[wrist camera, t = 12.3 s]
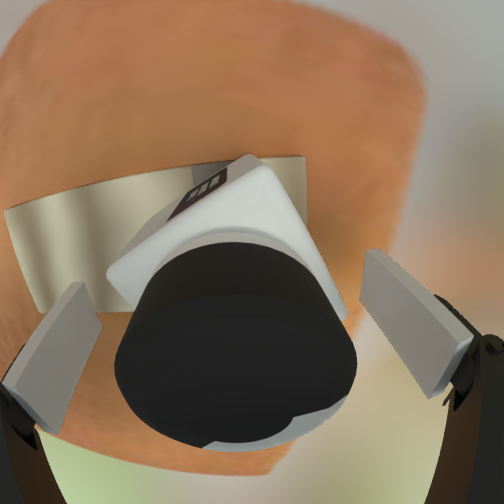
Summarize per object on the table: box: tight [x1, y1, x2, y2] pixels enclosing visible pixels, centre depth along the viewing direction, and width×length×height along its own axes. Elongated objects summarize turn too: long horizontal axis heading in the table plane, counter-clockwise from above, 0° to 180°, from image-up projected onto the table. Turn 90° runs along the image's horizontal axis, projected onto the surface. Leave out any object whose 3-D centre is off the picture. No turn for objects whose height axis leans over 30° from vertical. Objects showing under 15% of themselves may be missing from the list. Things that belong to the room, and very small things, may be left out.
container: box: [106, 154, 357, 452], centre depth 12 cm, size 8×8×13 cm
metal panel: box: [4, 155, 307, 313], centre depth 18 cm, size 24×10×1 cm, turn 94°
